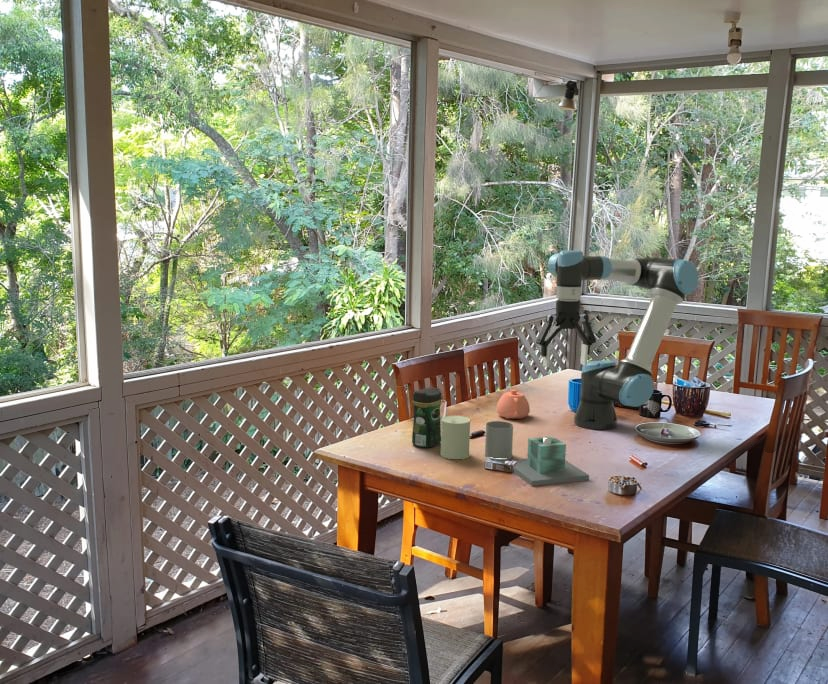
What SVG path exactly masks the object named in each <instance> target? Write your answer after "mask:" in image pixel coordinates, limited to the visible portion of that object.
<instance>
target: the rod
mask: <svg viewBox="0 0 828 684" xmlns="http://www.w3.org/2000/svg"><path fill="white" fill-rule="evenodd" d="M542 437H543V444H551V440H552V438H551V436H542Z"/></svg>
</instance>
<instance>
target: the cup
mask: <svg viewBox="0 0 828 684" xmlns="http://www.w3.org/2000/svg"><path fill="white" fill-rule="evenodd" d="M513 435H514V425H513V423H511V422H509V421H508V422H507V421H503V420H501V421H500V420H494V421H493V420H492V421H488V422H486V423H485V441H484V442H485V443H484V445H485V448H484V457H486V458H487V457H493V458H507V460H511V459H512V458H513V440H514V439H513Z"/></svg>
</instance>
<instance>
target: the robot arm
mask: <svg viewBox="0 0 828 684" xmlns="http://www.w3.org/2000/svg"><path fill="white" fill-rule="evenodd" d="M547 268H548V271H549V272H550V274H551V275H553V276H557V278H556V279H557V281H556V282H557V283H556V284H557V285H556V298H557V300H556V302H555V315H551V314H547V315H546V317H545V322H544V324H543V326H542V327H541V330H540V332H539V335H538V336H537V339H536V340H535V343H536V345H539V346H541V347H540V348H541V350H540V351H541V352H540V355H541V357H542V366H543V367H545V368H550V356H551V355H550V353H551V350H550V349H551V347H550V346H549V345H550V343H552V342H553V339H555V337H556V336H557V335H558V334H559V332H560V331H562V330H568V329H569V330H574V331H575V332H576V334H577V335H578V337H579V338H580V340H581V341H582V342H583V343H581V347H580V348H581V349H580V351H581V352H580V365H582V368H581V373H580V374H581V375H580V399H579V400H580V401H579V404H578V405H577V410H576V411H575V414H574V418H573V419H574V420H573V423H574V425H576V426H578V427H581V428H586V429H590V430H613V429H615V428H616V427H617V426H618V417H617V413H616V410H615V405H614V403H619V404H622V405H624V406H627V407H629V406H630V407H635V408H636V407H641V406H642V405H644V404H646V403H647V402H648V401H649V400H650V398H651V397H652V395H653V393H654V389H655V386H654V384H655V383H654V379H653V378H652V375H653V371H652V370H651V366H652V364H653V361H654V360H655V357H656V354H657V352H658V349H659V347H660V345H661V343H662V340H663V337H664V335H665V333H666V331H667V328H668V326H669V323H670V321H671V318H672V317H673V314H674V311H675V309H676V307H677V306H678V305H679V304H682V303H683V302H684V300H685V298H686V296H689V295H692V294H693V293H694V292H695V291H696V290H697V288H698V286H699V279H700V278H699V277H700V276H699V272H698V269H697V266H696V265H695V264H694V263H693V262H692V261H690V260H687V259H683V258H682V259H681V258H678V259H677V258H662V257H642V258H641V257H640V258H635V257H629V258H626V259H616V258H608V257H607V256H601V255H596V256H595V255H594V256H593V255H591V256H590V255H584V253H583V251H582V250H572V249H571V250H569V249H568V250H563V249H562V250H561V251H560V252H559V253H554V254H552V255H551V256H550V257H549V259H548V261H547ZM595 280H597V281H601V280H602V281H613V282H622V283H623V284H624V285H627V286H635V287H637V288H638V287H639V288H642V289H645V290H649V292H650V293H651V298H650V301H649V304H648V306H647V308H646V310H645V312H644V315H643V318H642V320H641V321H640V324H639V327H638V329H637V332H636V334H635V336H634V339H633V340H632V344H631V345H630V348H629V350H628V352H627V355H626V357H624V358H623V359H621V360H619V362H618V364H617V363H616V362H615V361H614V360H592V361H591V360H590V361H588V355H590V354H591V353H590V352H591V346H592V345H593V344H595V343H597V342H596V341H597V340H596V337H595V335H594V332H593V329H592V326H591V324H590V321H589V320H590V319H589V315H588V314H584V313H581V314H580V312H581V301H580V300H581V297H582V295H581V294H582V282H583V281H595ZM579 321H580V322H581V324H582V327H583V329H584V330H583V329H582V327H581V325H580V324H579ZM554 322H555V324H553V323H554ZM584 331H585V332H584Z"/></svg>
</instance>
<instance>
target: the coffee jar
mask: <svg viewBox="0 0 828 684" xmlns="http://www.w3.org/2000/svg"><path fill="white" fill-rule="evenodd" d="M441 404H442V392H441V390H440V389H439V388H437V387H431V386H429V387H426V388H422V389H418V390H415V391H413V393H412V405H413V420H412V421H413V423H412V433H411V434H412V436H411V443H412V445H414V446H415V447H417V446H418V447H417V448H421V447H422V448H431V447H435V446H436V445H439V444H441Z"/></svg>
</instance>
